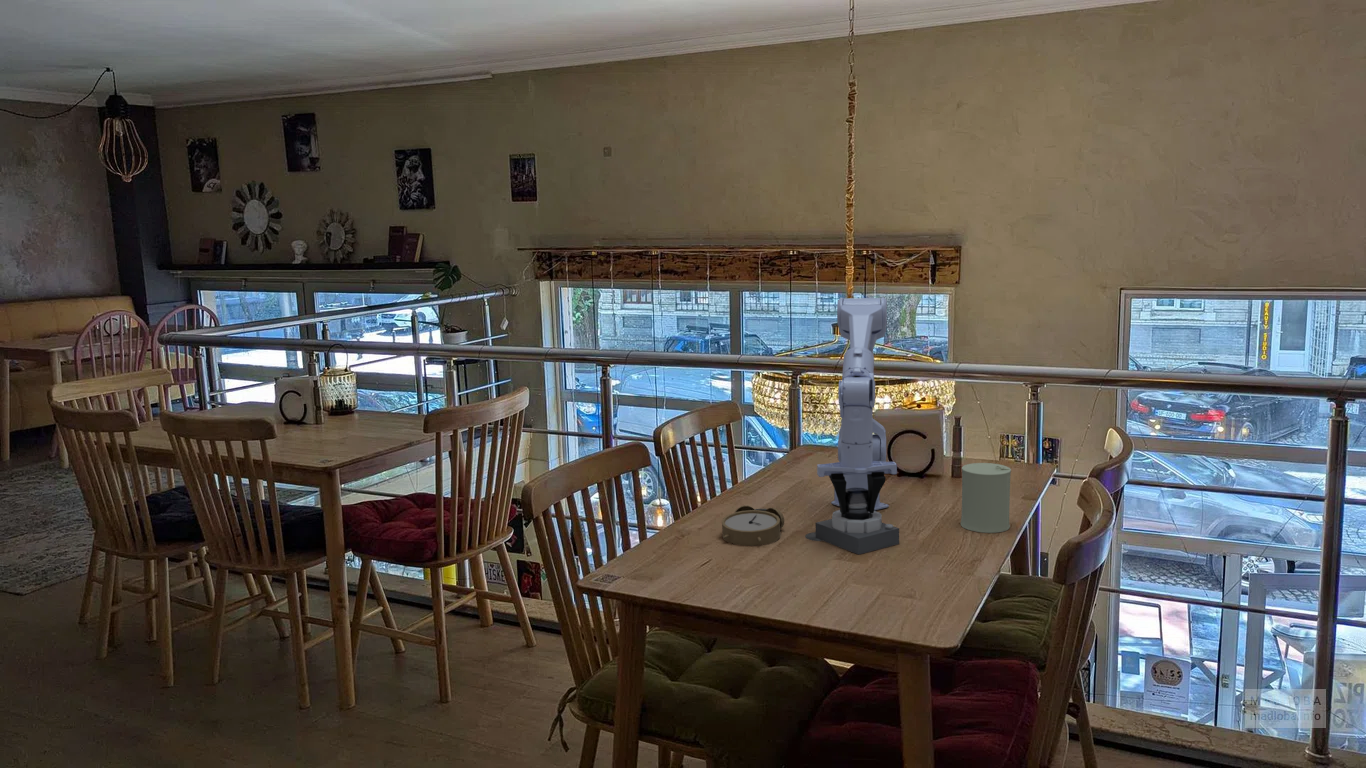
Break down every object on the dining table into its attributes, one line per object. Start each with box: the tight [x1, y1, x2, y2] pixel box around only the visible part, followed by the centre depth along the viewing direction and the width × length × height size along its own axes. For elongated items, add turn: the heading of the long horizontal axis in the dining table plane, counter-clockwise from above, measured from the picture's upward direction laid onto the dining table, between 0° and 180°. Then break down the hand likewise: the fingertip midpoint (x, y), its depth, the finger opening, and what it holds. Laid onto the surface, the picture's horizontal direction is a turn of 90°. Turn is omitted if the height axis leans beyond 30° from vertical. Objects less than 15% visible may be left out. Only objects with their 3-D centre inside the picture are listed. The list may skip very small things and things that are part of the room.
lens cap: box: [804, 531, 823, 542], centre depth 186 cm, size 5×5×1 cm
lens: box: [845, 488, 869, 520], centre depth 182 cm, size 5×5×6 cm
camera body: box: [815, 509, 900, 555], centre depth 182 cm, size 12×10×5 cm
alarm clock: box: [721, 505, 785, 547], centre depth 188 cm, size 11×5×15 cm
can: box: [960, 462, 1012, 534], centre depth 188 cm, size 9×9×12 cm
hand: (856, 512), depth 181 cm, fingers closed on lens, 5 cm apart
